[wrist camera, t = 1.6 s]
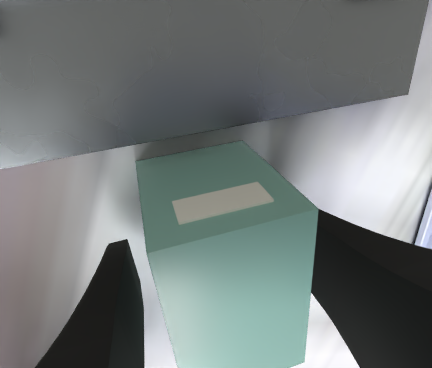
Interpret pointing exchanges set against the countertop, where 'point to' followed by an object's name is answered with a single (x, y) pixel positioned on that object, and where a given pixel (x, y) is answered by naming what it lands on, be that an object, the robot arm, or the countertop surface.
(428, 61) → the countertop surface
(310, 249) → the block
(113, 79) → the rail plate
